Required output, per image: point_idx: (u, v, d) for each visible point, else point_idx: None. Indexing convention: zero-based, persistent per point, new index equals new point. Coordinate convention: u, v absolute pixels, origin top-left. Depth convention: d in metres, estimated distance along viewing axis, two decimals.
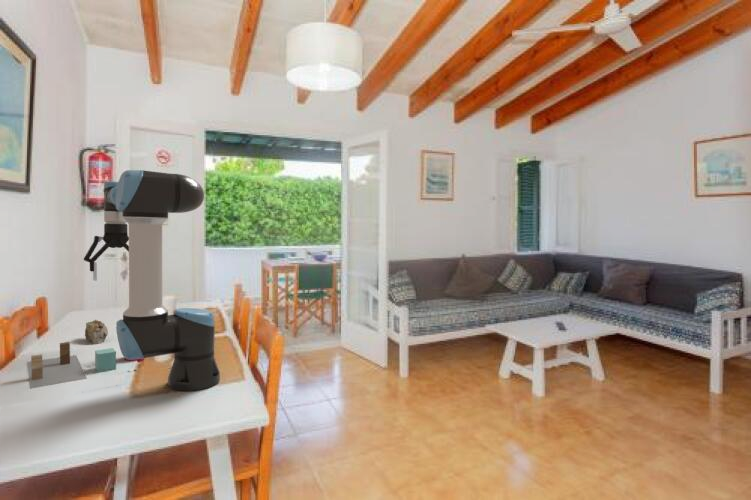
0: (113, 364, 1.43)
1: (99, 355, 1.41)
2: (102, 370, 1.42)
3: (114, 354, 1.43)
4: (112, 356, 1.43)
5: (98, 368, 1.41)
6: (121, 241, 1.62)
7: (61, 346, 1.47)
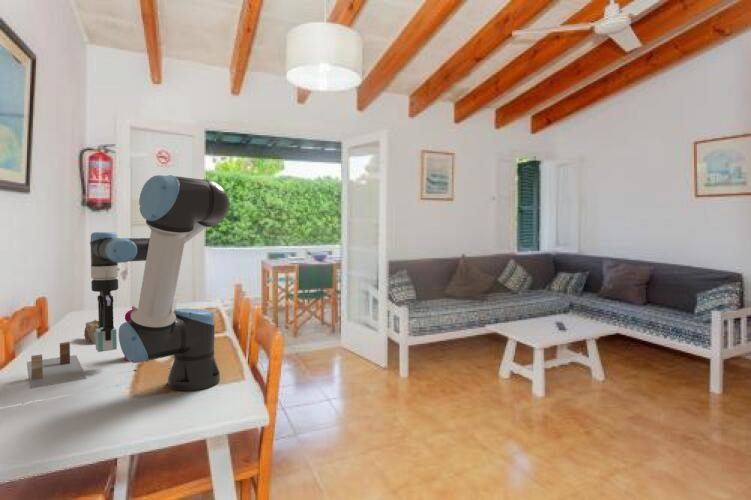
0: (114, 342, 1.43)
1: (99, 333, 1.40)
2: None
3: (114, 332, 1.43)
4: None
5: (99, 346, 1.40)
6: (99, 300, 1.41)
7: (61, 346, 1.47)
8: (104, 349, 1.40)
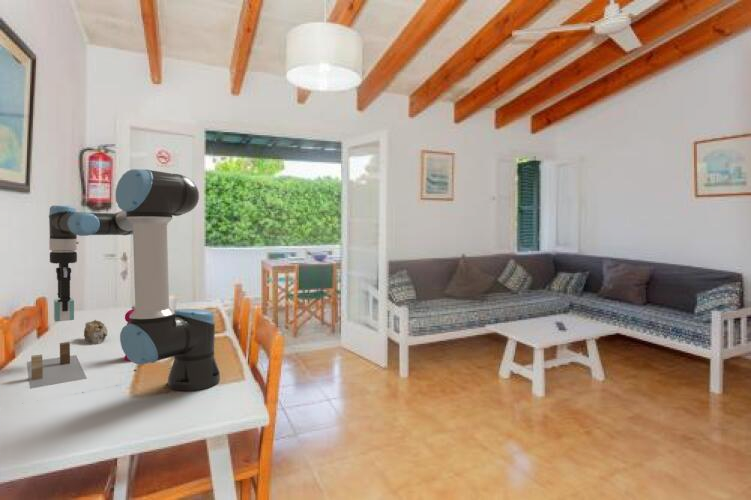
0: (71, 313, 1.47)
1: (57, 303, 1.44)
2: None
3: (72, 303, 1.47)
4: (70, 305, 1.47)
5: (56, 316, 1.44)
6: (57, 272, 1.45)
7: (61, 346, 1.47)
8: (61, 319, 1.45)
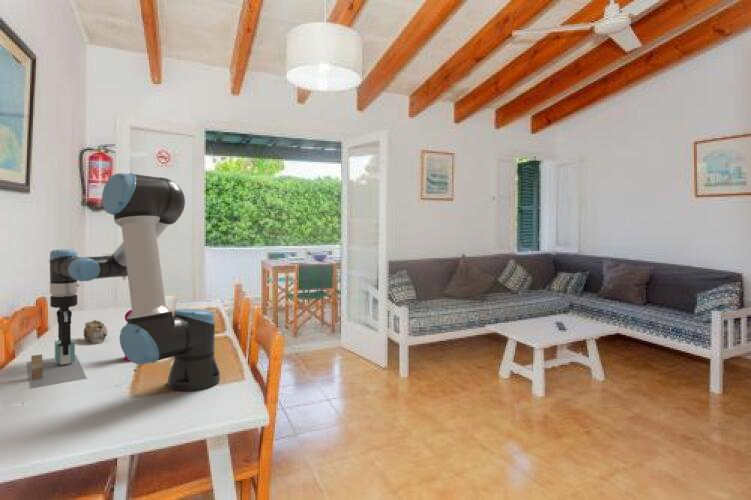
0: (72, 354, 1.48)
1: (57, 345, 1.45)
2: None
3: (73, 344, 1.48)
4: (71, 346, 1.47)
5: (56, 358, 1.45)
6: (57, 315, 1.45)
7: None
8: (61, 363, 1.45)
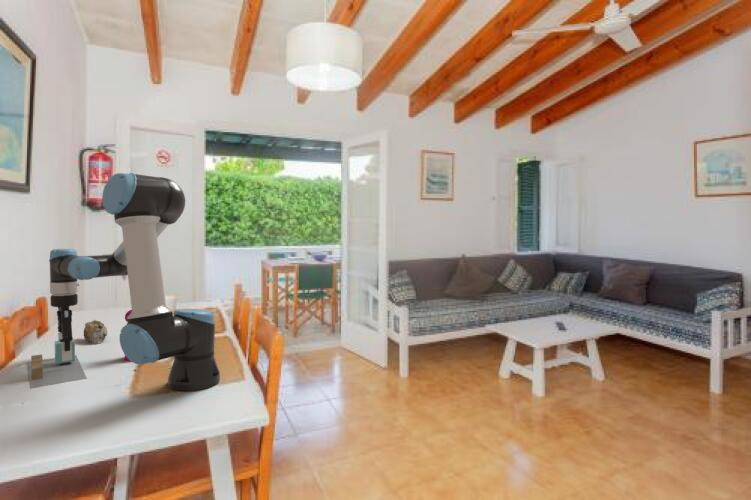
0: (72, 354, 1.48)
1: (57, 345, 1.45)
2: (60, 360, 1.46)
3: (73, 344, 1.48)
4: None
5: (56, 358, 1.45)
6: (57, 315, 1.45)
7: None
8: (63, 359, 1.42)
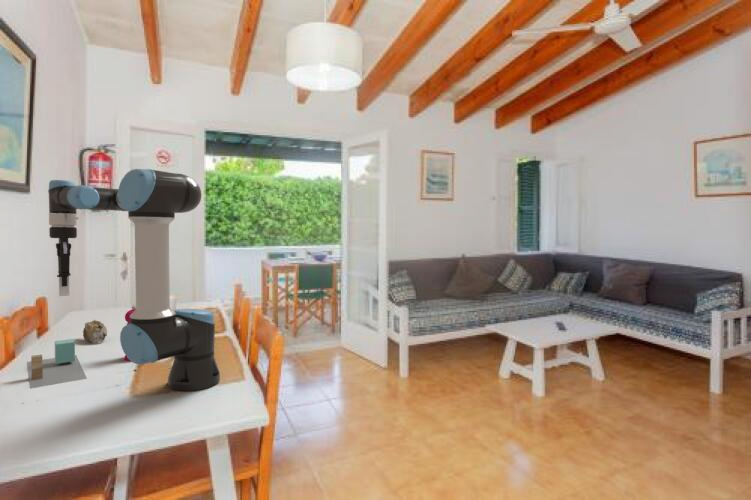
0: (72, 354, 1.48)
1: (57, 345, 1.45)
2: (60, 360, 1.46)
3: (73, 344, 1.48)
4: (71, 346, 1.47)
5: (56, 358, 1.45)
6: (56, 246, 1.44)
7: None
8: (60, 294, 1.46)
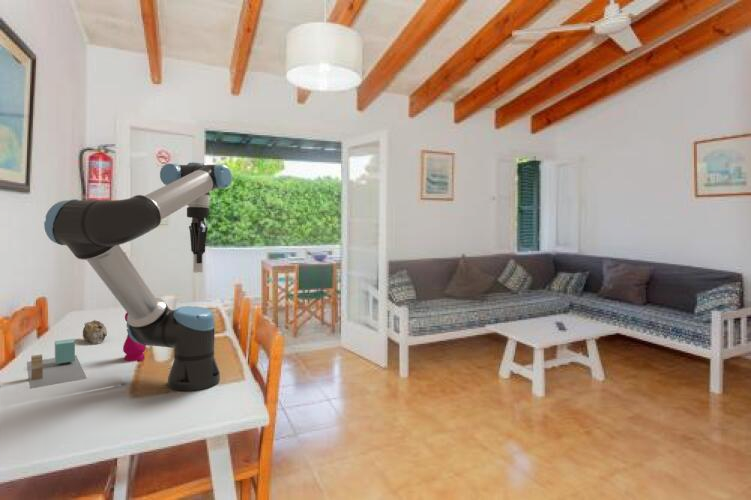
0: (72, 354, 1.48)
1: (57, 345, 1.45)
2: (60, 360, 1.46)
3: (73, 344, 1.48)
4: (71, 346, 1.47)
5: (56, 358, 1.45)
6: (193, 225, 1.53)
7: None
8: (195, 271, 1.55)
